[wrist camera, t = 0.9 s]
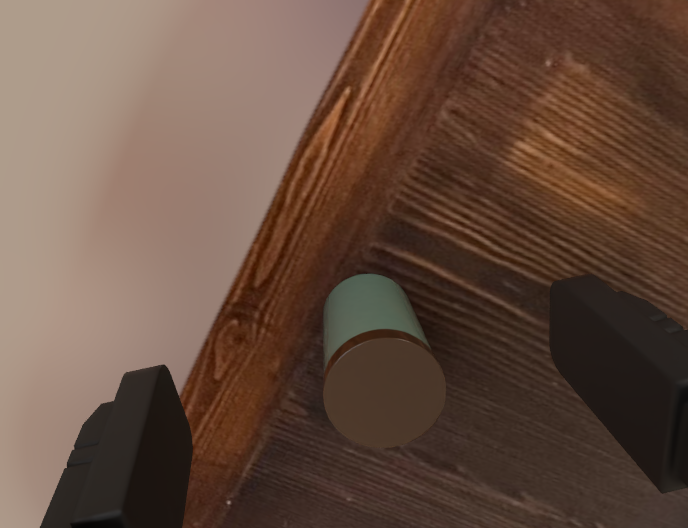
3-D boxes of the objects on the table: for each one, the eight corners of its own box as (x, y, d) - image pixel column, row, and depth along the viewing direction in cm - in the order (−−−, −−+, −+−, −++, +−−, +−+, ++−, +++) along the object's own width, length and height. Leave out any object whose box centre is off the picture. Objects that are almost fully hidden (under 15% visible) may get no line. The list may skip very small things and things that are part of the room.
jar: (305, 298, 31) (300, 373, 23) (387, 256, 31) (414, 316, 22) (347, 371, 33) (358, 466, 24) (427, 332, 32) (466, 416, 24)
